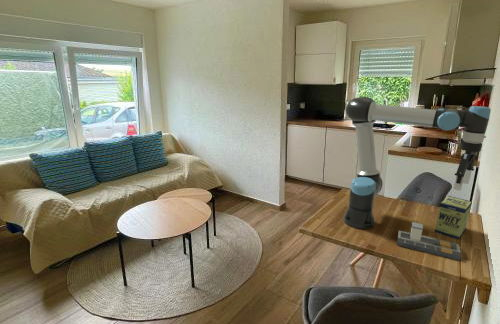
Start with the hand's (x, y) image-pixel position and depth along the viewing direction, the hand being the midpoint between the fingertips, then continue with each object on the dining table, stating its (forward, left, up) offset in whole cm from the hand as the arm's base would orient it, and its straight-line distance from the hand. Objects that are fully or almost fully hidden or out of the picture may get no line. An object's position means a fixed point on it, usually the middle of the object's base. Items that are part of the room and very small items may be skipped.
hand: (461, 186), depth 137 cm
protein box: (0, +6, -26) cm, 26 cm away
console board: (-11, -17, -25) cm, 32 cm away
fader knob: (-16, -17, -23) cm, 33 cm away
